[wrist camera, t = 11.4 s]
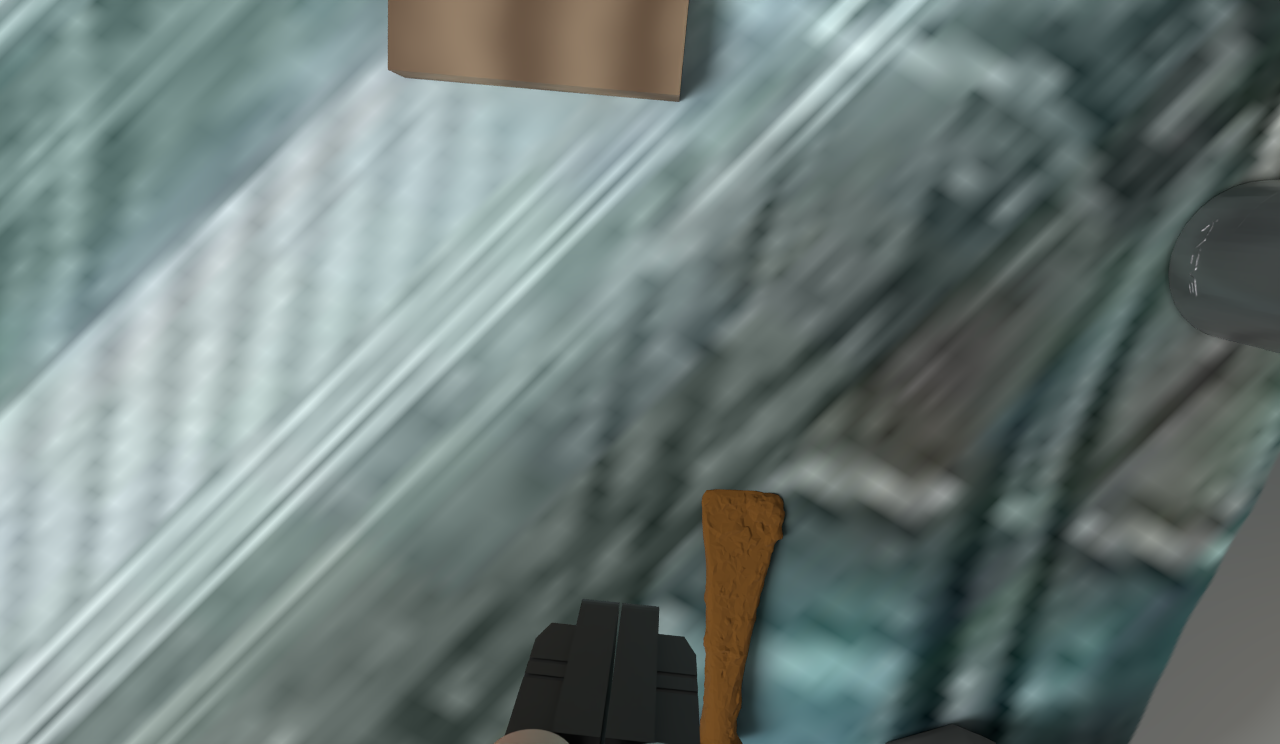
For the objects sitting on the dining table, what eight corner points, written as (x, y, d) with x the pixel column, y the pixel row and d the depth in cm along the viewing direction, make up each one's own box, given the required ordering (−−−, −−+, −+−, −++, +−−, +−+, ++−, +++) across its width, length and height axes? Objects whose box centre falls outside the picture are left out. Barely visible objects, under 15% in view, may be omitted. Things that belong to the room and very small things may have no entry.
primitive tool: (702, 485, 46) (704, 508, 43) (785, 489, 46) (794, 512, 43) (689, 732, 51) (690, 770, 47) (764, 737, 51) (771, 775, 47)
